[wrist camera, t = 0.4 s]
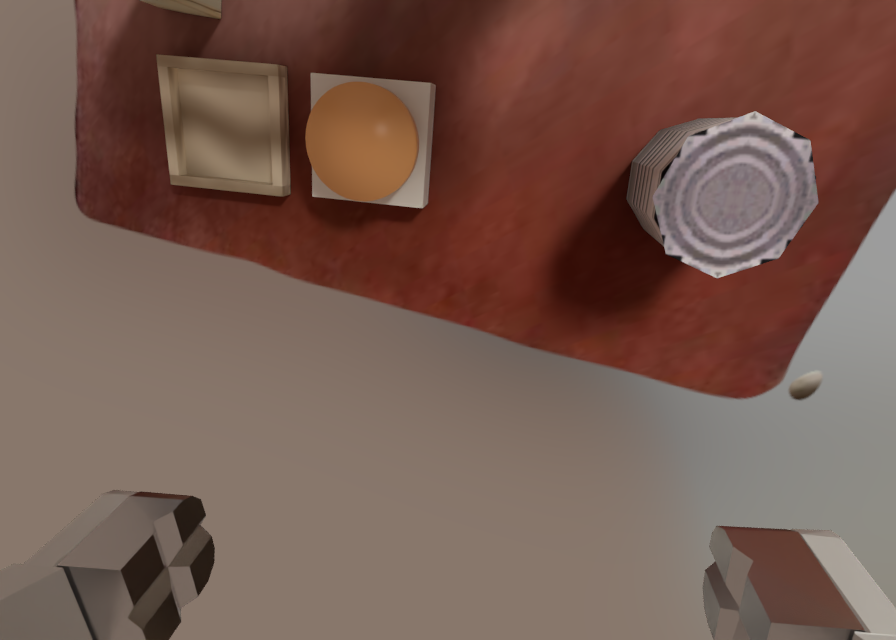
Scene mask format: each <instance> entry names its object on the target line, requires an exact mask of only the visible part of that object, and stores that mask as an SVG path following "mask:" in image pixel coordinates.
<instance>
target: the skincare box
mask: <svg viewBox="0 0 896 640" xmlns="http://www.w3.org/2000/svg"><path fill="white" fill-rule="evenodd" d="M140 1H142V2H145V3H148V4H151V5H154V6H156V7H159V8H163V9H168V10H173V11H178V12H183V13H188V14H193V15H199V16H205V17H211V18H217V19H221V0H140Z"/></svg>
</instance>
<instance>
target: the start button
mask: <svg viewBox="0 0 896 640" xmlns="http://www.w3.org/2000/svg"><path fill="white" fill-rule="evenodd" d="M305 140H306V149H307V154H308V157H309V160H310V163H311V165H312V167H313V169H314V171H315V172H316V174H317V176H318V177H319V178H320V179H321V181H322V182H323V183H324V184H325V185H326V186H327V187H328V188H330V189H331V190H332V191H333V192H335V193H337V194H338V195H340V196H342V197H345V198H347V199H351V200H355V201H374V200H378V199H381V198H383V197H386V196H388V195H390V194H391V193H393V192H395V191H396V190H398V189H399V188H400V187H401V186H402V185H403V184H404V183H405V182H406V181H407V180H408V178H409V177H410V176H411V174H412V172H413V170H414V168H415V165H416V162H417V158H418V152H419V137H418V131H417V127H416V124H415V121H414V118H413V116H412V115H411V113H410V111H409V109H408V108H407V107H406V105H405V104H404V103H403V102H402V101H401V99H400V98H398V97H397V96H396V95H395V94H394V93H392V92H391V91H389V90H387V89H385V88H383V87H381V86H378V85H375V84H371V83H367V82H347V83H343V84H340V85H338V86H335V87H333V88H332V89H330V90H329V91H327V92H326V93H325V94H324V95H322V96H321V97H320V99H319V100H318V101H317V102H316V104H315V105H314V107H313V109H312V111H311V113H310V115H309V118H308V122H307V126H306V137H305Z"/></svg>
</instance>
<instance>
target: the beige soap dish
mask: <svg viewBox="0 0 896 640" xmlns="http://www.w3.org/2000/svg"><path fill="white" fill-rule="evenodd" d="M156 58H157V67H158V76H159V85H160V93H161V102H162V111H163V120H164V129H165V138H166V147H167V156H168V164H169V173H170V182H171V185H180V186H189V187H198V188H207V189H217V190H226V191H235V192H244V193H254V194H263V195H272V196H281V197H283V196H286V195H289V194H291V185H290V150H289V115H288V80H287V67H286V66H282V65H277V64H265V63H253V62H242V61H230V60H218V59H206V58H194V57H182V56H170V55H158V54H156Z"/></svg>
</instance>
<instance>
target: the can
mask: <svg viewBox="0 0 896 640" xmlns="http://www.w3.org/2000/svg"><path fill="white" fill-rule="evenodd" d="M626 199H627V201H628V203H629V204H630V206H631V208H632V210H633V212H634V213H635V215H636V217H637V219H638V220H639V222H640V224H641V226H642V227H643V229H644V230H645V231H646V232H647V233H649V234H650V235H651V236H652V237H653V238H654V239H656V240H657V241H658V242H659V243H660V244H661V245H663V246H664V248H665V252H666V254H667V255H669V256H671V257H673V258H675V259H677V260H680V261H682V262H684V263H686V264H688V265H690V266H692V267H694V268H696V269H699V270H701V271H703V272H705V273H707V274H709V275H711V276H713V277H715V278H719V277H723V276H726V275H729V274H732V273H735V272H738V271H741V270H744V269H747V268H750V267H753V266H756V265H760V264H763V263H766V262H769V261H772V260H775V259H778V258H779V257H780V256H781V254H782V253H783V251H784V250H785V249H786V247H787V246H788V244H789V243H790V242H791V240H792V239H793V237H794V236H795V235H796V233H797V232H798V230H799V229H800V228H801V227H802V226H803V223H804V222H805V221H806V219H807V218H808V216H809V215H810V214H811V212H812V211H813V209H814V208H815V207H816V205H817V204H818V196H817V188H816V176H815V173H814V165H813V157H812V149H811V141H810V140H809V139H807V138H805V137H803V136H801V135H799V134H797V133H796V132H794V131H792V130H790V129H788V128H786V127H784V126H782V125H780V124H778V123H776V122H775V121H773V120H771V119H769V118H767V117H765V116H763V115H761V114H759V113H757V112H752V113H749V114H747V115H744V116H741V117H739V118H705V119H697V120H694V121H690V122H687V123H683V124H680V125H676V126H673V127H669V128H666V129H662V130H660V131H659V132H658V133H657V134H656V135H655V136H654V137H653V138H652V140H651V141H650V142H649V143H648V144H647V145H646V146H645V147H644V149H643V150H642V151H641V152H640V153H639V154H638V155H637V156H636V157H635V159H634V160H633V161H632V165H631V172H630V178H629V185H628V191H627V198H626Z"/></svg>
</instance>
